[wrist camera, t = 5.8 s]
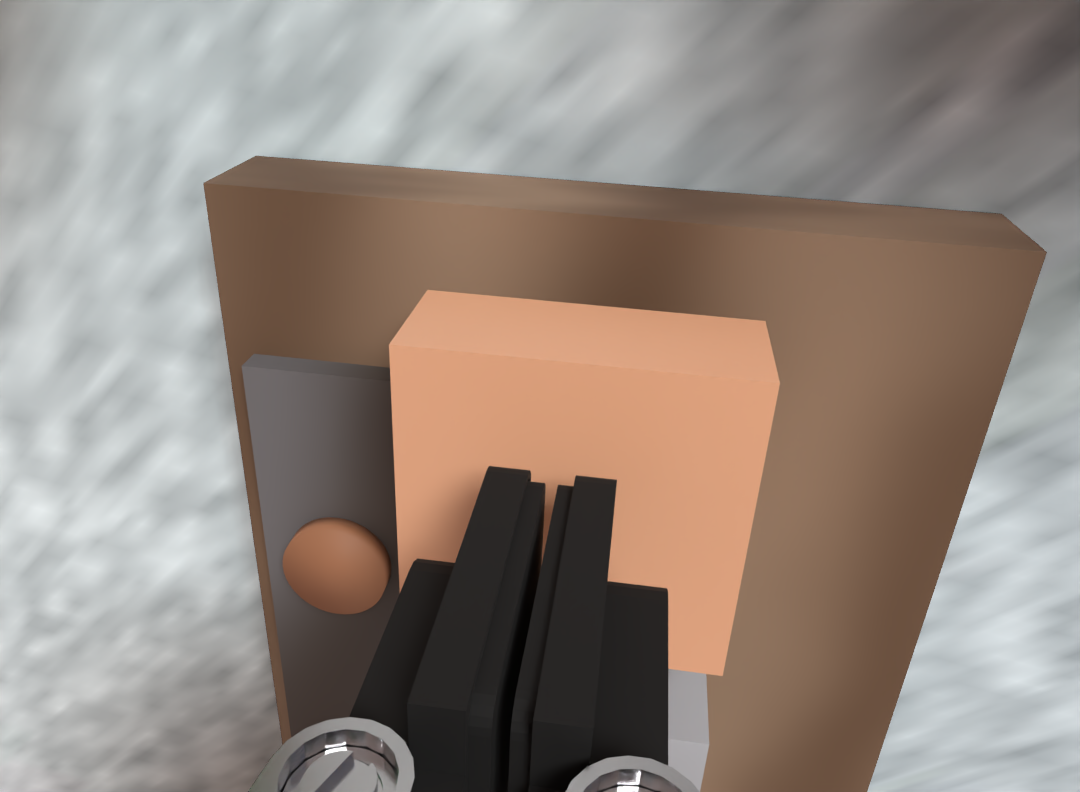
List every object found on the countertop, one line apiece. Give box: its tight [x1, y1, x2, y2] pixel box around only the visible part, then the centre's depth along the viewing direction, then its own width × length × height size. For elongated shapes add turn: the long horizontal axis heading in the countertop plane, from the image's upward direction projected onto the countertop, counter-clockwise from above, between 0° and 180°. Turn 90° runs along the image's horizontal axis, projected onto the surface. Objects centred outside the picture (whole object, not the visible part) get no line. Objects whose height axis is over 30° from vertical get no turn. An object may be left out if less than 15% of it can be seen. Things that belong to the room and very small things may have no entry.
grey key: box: [668, 669, 709, 792], centre depth 16 cm, size 5×5×2 cm
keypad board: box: [204, 156, 1047, 792], centre depth 19 cm, size 13×20×3 cm, turn 177°
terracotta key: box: [389, 290, 780, 676], centre depth 13 cm, size 5×5×2 cm
